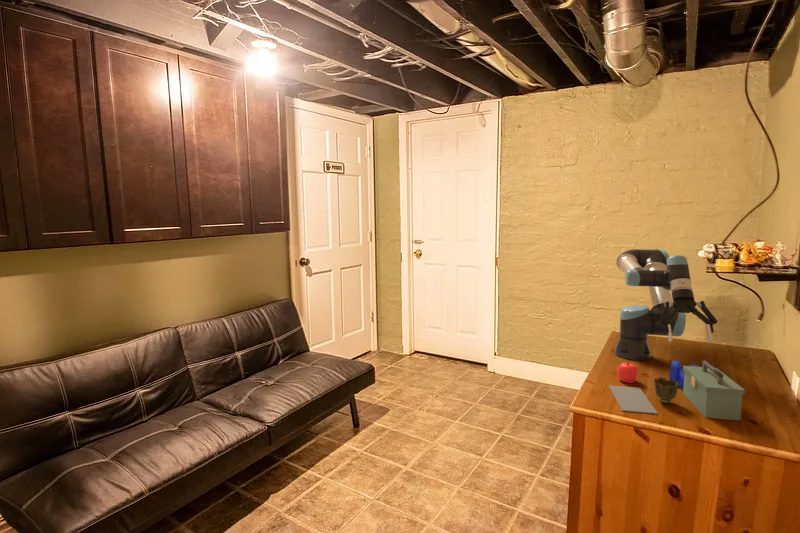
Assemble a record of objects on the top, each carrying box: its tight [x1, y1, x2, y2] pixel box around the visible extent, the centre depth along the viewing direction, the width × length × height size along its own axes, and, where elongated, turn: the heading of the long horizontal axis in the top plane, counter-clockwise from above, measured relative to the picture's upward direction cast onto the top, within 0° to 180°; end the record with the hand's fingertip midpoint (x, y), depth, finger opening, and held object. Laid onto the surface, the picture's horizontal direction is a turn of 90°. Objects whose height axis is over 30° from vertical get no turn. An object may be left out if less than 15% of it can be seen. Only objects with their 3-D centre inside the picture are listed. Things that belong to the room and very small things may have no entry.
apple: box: [616, 361, 640, 384], centre depth 178 cm, size 8×8×8 cm
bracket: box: [669, 360, 700, 389], centre depth 177 cm, size 18×8×9 cm, turn 135°
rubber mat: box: [608, 385, 659, 415], centre depth 161 cm, size 22×11×1 cm, turn 166°
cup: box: [653, 376, 679, 405], centre depth 157 cm, size 8×7×8 cm
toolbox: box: [682, 360, 746, 421], centre depth 153 cm, size 21×11×14 cm, turn 166°
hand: (690, 341), depth 175 cm, fingers open, 13 cm apart
